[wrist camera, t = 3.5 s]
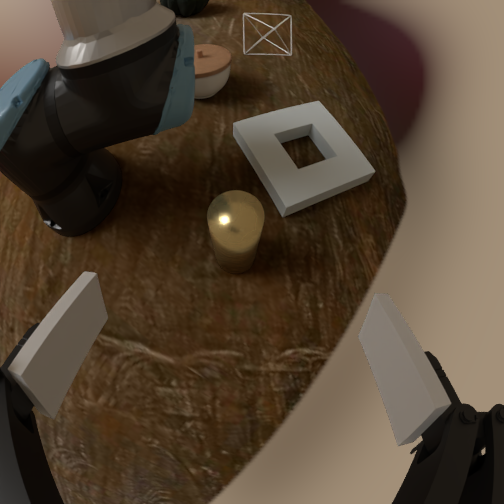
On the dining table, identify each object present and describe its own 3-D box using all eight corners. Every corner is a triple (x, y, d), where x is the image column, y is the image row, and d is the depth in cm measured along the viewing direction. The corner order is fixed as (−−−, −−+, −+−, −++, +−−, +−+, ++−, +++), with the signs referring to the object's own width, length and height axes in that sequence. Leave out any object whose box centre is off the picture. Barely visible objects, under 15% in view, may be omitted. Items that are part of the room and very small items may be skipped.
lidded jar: (171, 80, 45) (165, 44, 36) (223, 70, 47) (223, 33, 38) (178, 112, 42) (170, 72, 33) (237, 100, 44) (239, 59, 35)
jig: (282, 217, 37) (286, 207, 34) (233, 135, 41) (233, 123, 38) (367, 181, 40) (375, 171, 37) (314, 112, 44) (318, 100, 41)
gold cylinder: (225, 280, 34) (221, 252, 23) (209, 246, 35) (198, 203, 24) (261, 263, 35) (274, 228, 24) (244, 230, 36) (248, 182, 25)
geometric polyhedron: (258, 65, 48) (262, 31, 39) (230, 45, 50) (231, 14, 41) (301, 54, 51) (308, 23, 42) (271, 35, 53) (276, 7, 44)
